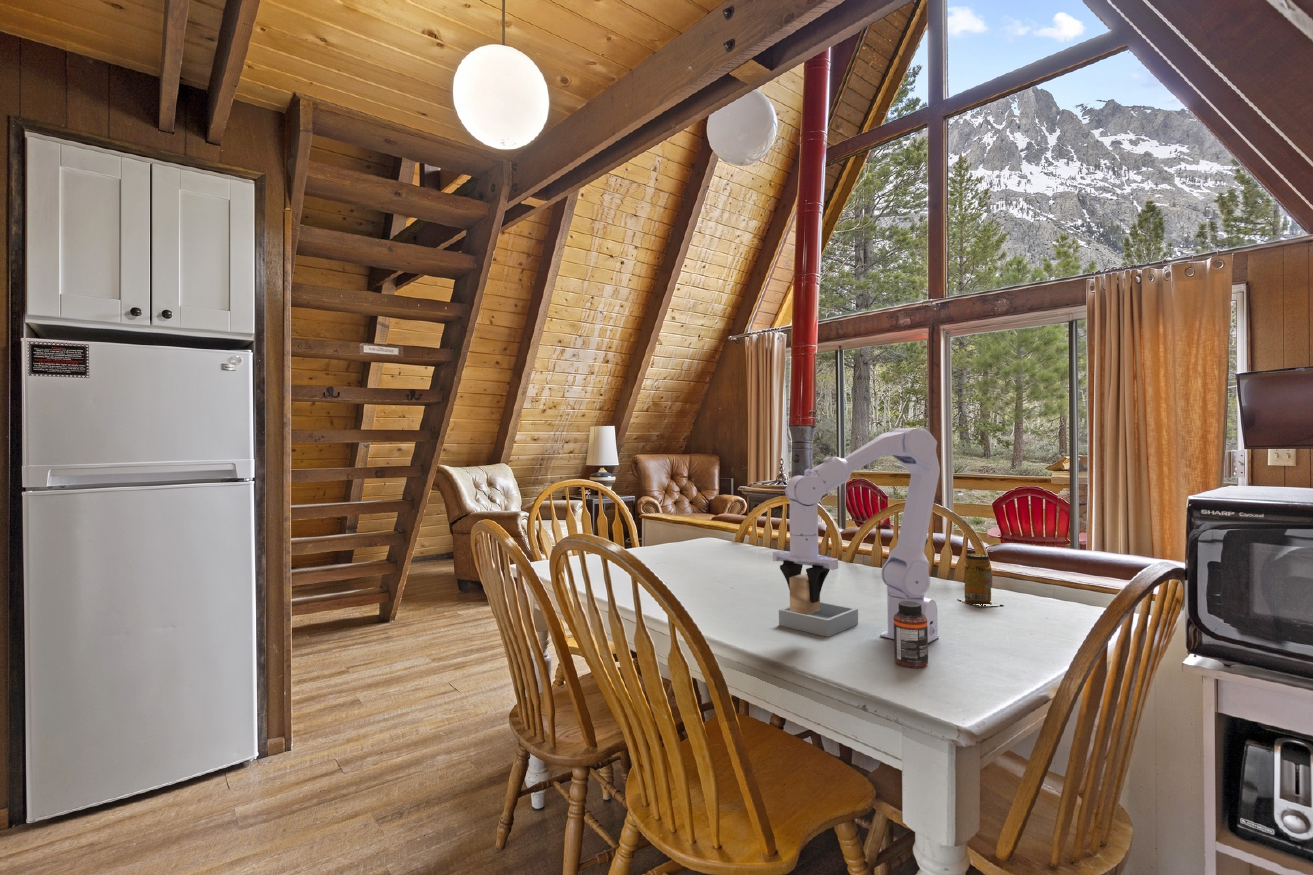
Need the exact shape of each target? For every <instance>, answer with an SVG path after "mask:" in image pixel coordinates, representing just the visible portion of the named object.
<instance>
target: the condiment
mask: <svg viewBox="0 0 1313 875" xmlns="http://www.w3.org/2000/svg"><path fill="white" fill-rule="evenodd" d="M965 559H966V560H965V564H964V572H963V574H964V599H965V601H961V602H962V603H965V604H969V605H972V606H975V607H978V608H991V607H990V606H986V605H984V606H983V604H991V602H992V567H991V566H990V556H989V555H987V554H985V553H984V554H983V553H972V552H971V553H967V554H965ZM990 601H991V602H990ZM993 602H994V604H1000V603H999V602H996V603H995V601H993ZM973 604H980V605H981V604H982V605H981V606H979V605H973Z"/></svg>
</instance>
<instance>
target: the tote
mask: <svg viewBox="0 0 1313 875" xmlns="http://www.w3.org/2000/svg"><path fill="white" fill-rule="evenodd" d="M855 625H856V626H858V625H859V609H858V608H855V607H852V606H851V607H850V606H844V605H839V604H834V603H829V602H826V601H825V602H823V601H820V610H819V611H816V612H813V613H811V614H808V615H805V614H800V613H795V612H791V611H790V605H789V606H786V607H783V608H780V609H779V610H778V626H780V627H785V628H790V629H793V630H796V631H797V630H798V631H803V632H807V633H810V634H814V635H817V636H818V635H819V636H823V637H828V638H829V637H831V636H833V635H836V634H839V633H841V632H843V631H845V630H849V629H851V628H853V627H855Z"/></svg>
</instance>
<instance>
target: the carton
mask: <svg viewBox="0 0 1313 875" xmlns="http://www.w3.org/2000/svg"><path fill="white" fill-rule="evenodd" d="M789 579H790V590H789V606H790V611H791V612H795V613H800V614H805V615H808V614H811V613H813V612H816V611H819V610H820V602H821V595H820V596H819V601H818V602H815V603H812V602H810V589H809V580H808V576H807V573H801V574H800V575H796V576H793V577H789Z"/></svg>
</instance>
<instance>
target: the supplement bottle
mask: <svg viewBox="0 0 1313 875" xmlns="http://www.w3.org/2000/svg"><path fill="white" fill-rule="evenodd" d="M898 609H899V611H898V613H896V614H895V615H894V639H893V653H894V654H893V657H894V661H895V663H896V664H898V665H900V666H902V667H905V668H909V669H921V668H924V667H926V666H927V665H928V664H929V647H928V646H929V643H928V627H927V618H926V616H925V615H923V614H922V612H921V611H922V608H921V604H920V603H919V602H915V601H901V602H899V608H898Z"/></svg>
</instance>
